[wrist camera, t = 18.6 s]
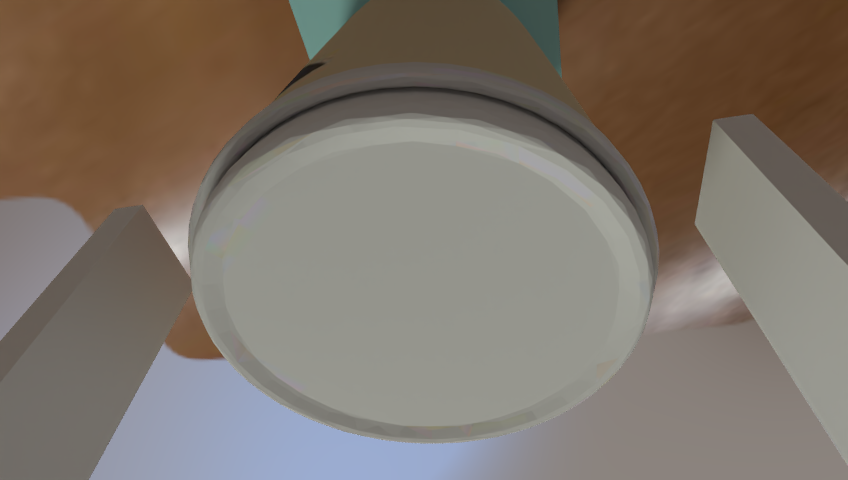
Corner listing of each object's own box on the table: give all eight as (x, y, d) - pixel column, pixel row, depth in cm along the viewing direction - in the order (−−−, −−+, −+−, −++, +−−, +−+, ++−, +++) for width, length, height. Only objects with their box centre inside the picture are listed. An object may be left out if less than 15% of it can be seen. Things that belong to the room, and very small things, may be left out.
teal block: (324, -48, 23) (284, -14, 17) (526, -99, 21) (552, -79, 16) (377, 132, 28) (360, 203, 23) (542, 102, 27) (567, 169, 21)
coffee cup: (297, -59, 17) (92, 73, 7) (586, -45, 16) (770, 108, 7) (321, 186, 22) (226, 440, 13) (536, 198, 22) (599, 462, 13)
